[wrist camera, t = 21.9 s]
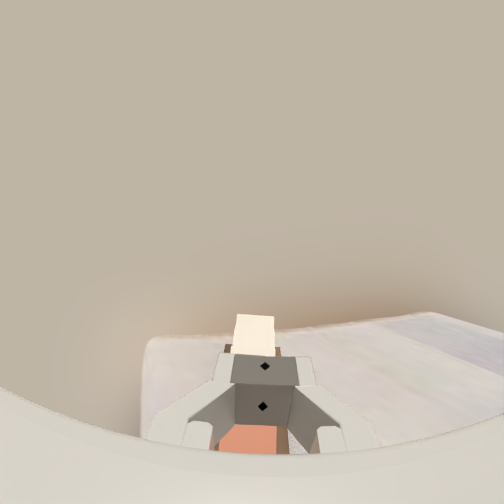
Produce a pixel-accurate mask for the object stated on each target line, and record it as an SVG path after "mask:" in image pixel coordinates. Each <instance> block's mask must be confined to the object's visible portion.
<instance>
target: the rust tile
mask: <svg viewBox="0 0 504 504" xmlns="http://www.w3.org/2000/svg"><path fill="white" fill-rule="evenodd" d="M276 437H277V426H264V425H238V424H234V427H233V428H232V429H231V430H230V431H229V432H228V433H227V434H226V435H225V436H224V437H223V438H222V439H221V440H220V441H219V450H218V451H224V452H236V453H252V454H276Z"/></svg>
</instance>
